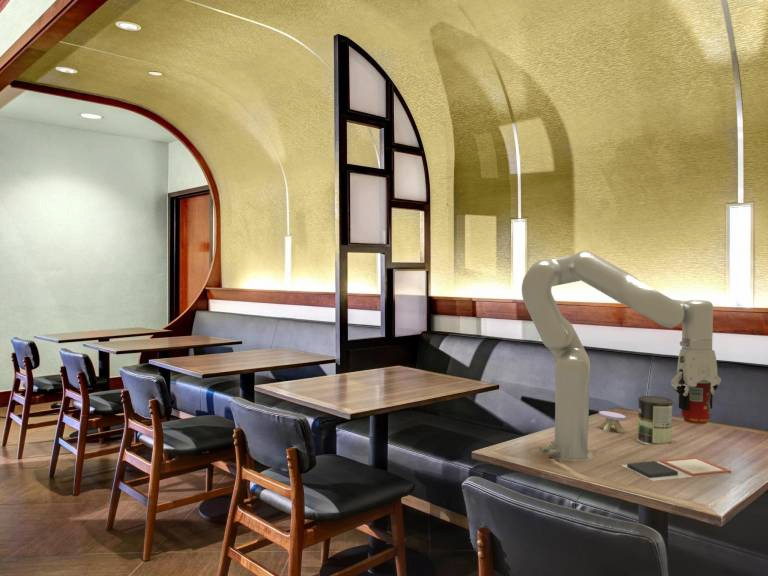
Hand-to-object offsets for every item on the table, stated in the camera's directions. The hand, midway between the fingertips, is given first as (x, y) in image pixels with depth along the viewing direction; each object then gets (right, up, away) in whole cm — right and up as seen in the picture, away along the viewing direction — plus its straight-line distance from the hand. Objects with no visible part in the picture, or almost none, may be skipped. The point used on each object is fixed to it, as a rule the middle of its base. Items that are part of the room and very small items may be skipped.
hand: (695, 408), depth 172 cm
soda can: (0, -4, 0) cm, 4 cm away
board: (-7, -18, -1) cm, 19 cm away
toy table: (-7, -16, +44) cm, 47 cm away
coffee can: (+1, -17, +29) cm, 34 cm away
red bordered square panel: (0, -17, +1) cm, 17 cm away
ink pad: (-13, -17, -3) cm, 22 cm away
